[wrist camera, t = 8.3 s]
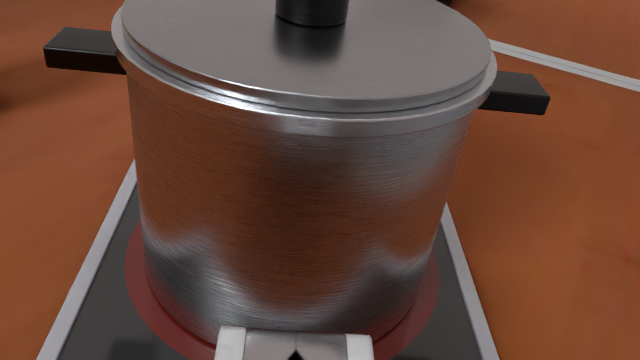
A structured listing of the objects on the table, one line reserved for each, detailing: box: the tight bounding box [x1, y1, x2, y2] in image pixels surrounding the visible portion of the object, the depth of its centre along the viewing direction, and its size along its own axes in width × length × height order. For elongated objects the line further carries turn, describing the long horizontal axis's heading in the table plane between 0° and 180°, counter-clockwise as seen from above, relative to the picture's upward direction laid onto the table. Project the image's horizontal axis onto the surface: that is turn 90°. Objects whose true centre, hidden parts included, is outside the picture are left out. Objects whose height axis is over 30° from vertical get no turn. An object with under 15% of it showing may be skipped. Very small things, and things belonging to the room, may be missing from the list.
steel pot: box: [43, 0, 550, 346], centre depth 19 cm, size 12×16×11 cm
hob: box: [36, 158, 499, 360], centre depth 28 cm, size 28×15×1 cm, turn 1°
